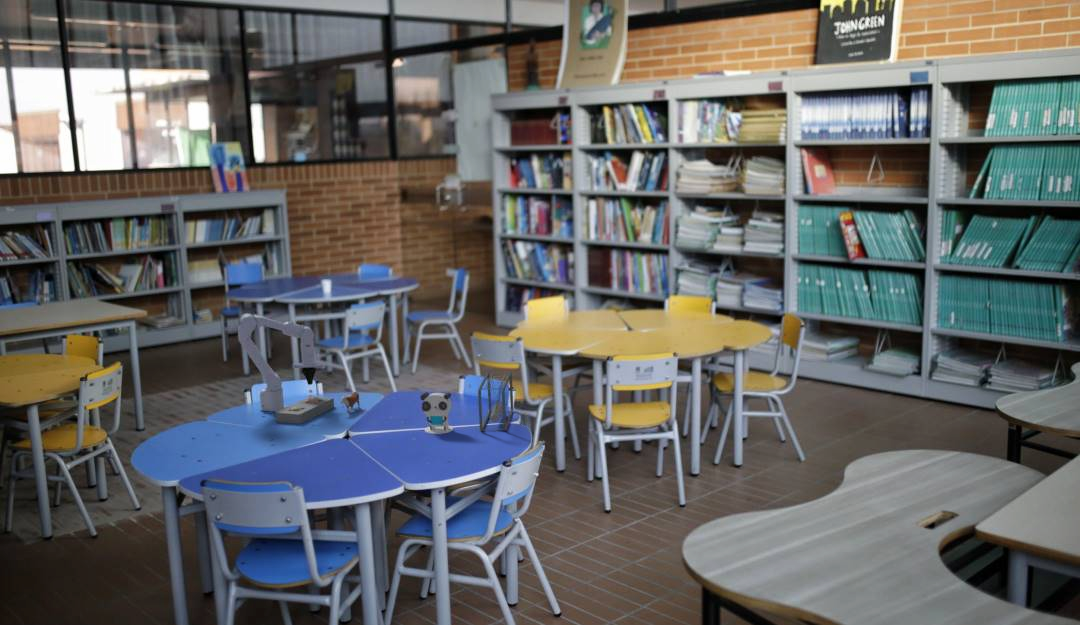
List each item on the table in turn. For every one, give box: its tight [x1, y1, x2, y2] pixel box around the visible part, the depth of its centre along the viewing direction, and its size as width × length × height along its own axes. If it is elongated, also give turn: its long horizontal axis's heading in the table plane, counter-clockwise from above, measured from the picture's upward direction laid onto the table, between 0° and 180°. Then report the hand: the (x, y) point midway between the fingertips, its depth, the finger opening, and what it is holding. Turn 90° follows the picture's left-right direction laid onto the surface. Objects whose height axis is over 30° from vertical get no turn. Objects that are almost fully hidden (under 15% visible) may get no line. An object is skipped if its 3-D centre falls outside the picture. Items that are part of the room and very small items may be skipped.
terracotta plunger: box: [308, 396, 319, 403], centre depth 417 cm, size 4×4×4 cm
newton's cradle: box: [477, 371, 514, 432], centre depth 390 cm, size 30×10×18 cm, turn 176°
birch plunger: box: [291, 407, 302, 411], centre depth 406 cm, size 4×4×4 cm
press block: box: [275, 396, 335, 425], centre depth 412 cm, size 12×26×4 cm, turn 160°
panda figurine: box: [420, 391, 454, 435], centre depth 382 cm, size 12×11×15 cm
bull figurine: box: [339, 391, 360, 414], centre depth 414 cm, size 4×13×8 cm, turn 163°
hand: (310, 384), depth 425 cm, fingers closed
